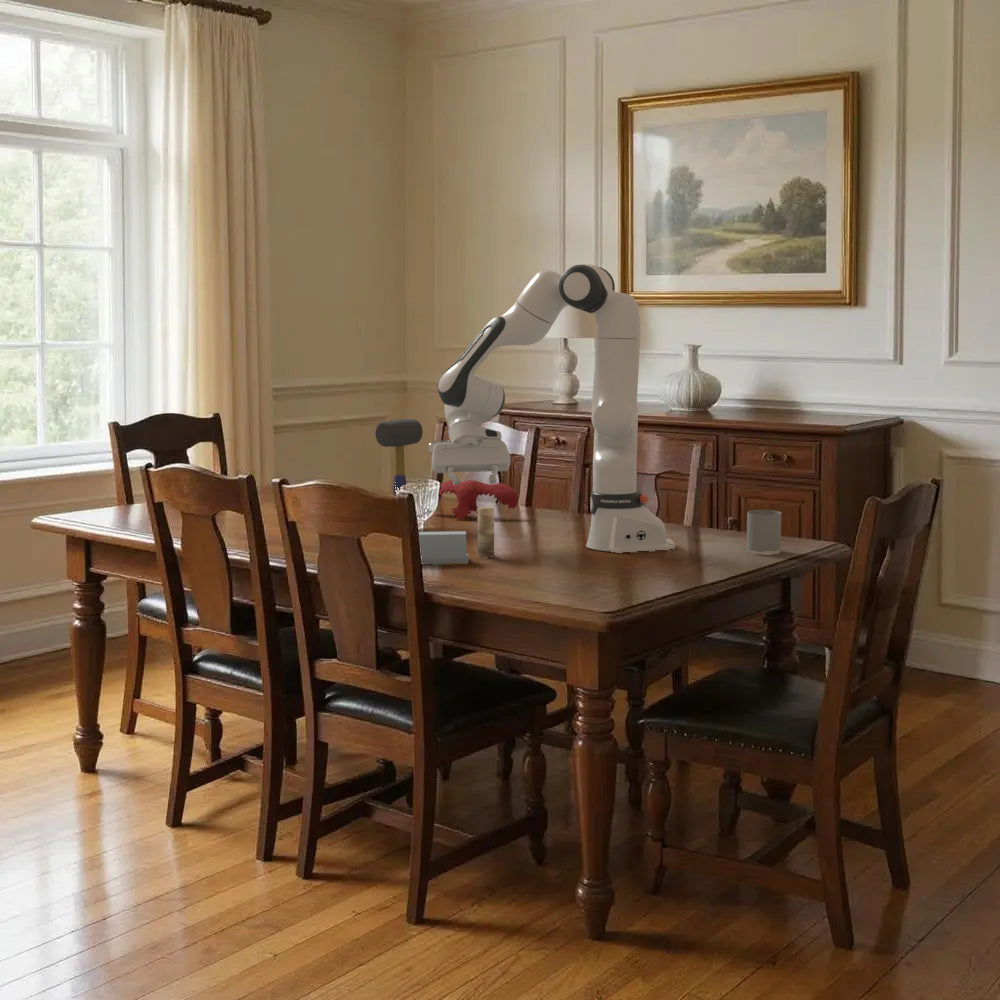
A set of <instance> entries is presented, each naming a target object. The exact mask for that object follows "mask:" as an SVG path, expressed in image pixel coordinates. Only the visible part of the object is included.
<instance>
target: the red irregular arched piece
mask: <svg viewBox="0 0 1000 1000" xmlns="http://www.w3.org/2000/svg"><path fill="white" fill-rule="evenodd" d="M440 484H441V489H440V494H439V496H442V495H443V494H448V493H449V494H455V496H456V500H457V505H456V506H455V507H454V508H451V513H452V514H453V516H455V519H456V520H458V519H461V520H462V519H463V520H467V519H466V517H468V516H469V515H471V514H472V512H476V514H477V515H476V516H478V505H477V498H479V496H483V495H484V496H487V495H488V497H492V496H494V499H497V498H498V502H500V503H502V502H503V504H504V505H508V509H516V506H517V505H518V494H517V493H518V492H517V491H516V490H515V489H514V488H513V487H512V486H510V485H509V484H506V483H503V482H499V483H498V482H497V483H495V484H490V483H485V482H482V481H478V480H471V479H470V480H465V481H461V482H460V483H459V485H453V481H452V480H447V481H443V482H442V483H440Z"/></svg>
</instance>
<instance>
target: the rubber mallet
mask: <svg viewBox="0 0 1000 1000" xmlns="http://www.w3.org/2000/svg"><path fill="white" fill-rule="evenodd" d="M374 433H375V438H376V441H377V443H378V444H379V445H380V446H382V447H385V448H387V447H389V448H391V447H392V448H393V447H394V452H395V453H394V461H395V462H394V463H395V466H394V467H395V468H394V470H395V471H394V478H393V487H392V488H393V495H394V494H396V492H395V490H397V487H398V488H399V490H400V487H401V486H402V485H406V484H407V477H406V474H405V473H406V471H405V469H406V468H405V446H409V445H414V444H417V443H419V442H420V441H421V440H422V438H423V427H422V424H421V423H420V421H418V420H417V419H415V418H399V419H397V418H396V419H392V420H386V421H381V422H379V423H378V425H377V426H376V429H375V432H374ZM395 482H396V483H395ZM395 485H396V486H395ZM395 487H396V489H395Z"/></svg>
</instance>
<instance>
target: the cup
mask: <svg viewBox="0 0 1000 1000" xmlns="http://www.w3.org/2000/svg"><path fill="white" fill-rule="evenodd" d="M746 516H747V517H746V551H747V550H749V551H756V552H757V551H758V552H762V551H763V552H764V551H777V550H779V549H780V550H781V544H782V543H781V541H782V537H781V536H782V511H780V510H779V511H778V510H772V509H771V510H769V509H754V510H753V509H752V510H748V511H747V514H746Z"/></svg>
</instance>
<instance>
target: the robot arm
mask: <svg viewBox="0 0 1000 1000" xmlns="http://www.w3.org/2000/svg"><path fill="white" fill-rule="evenodd" d="M615 289H616V288H615V281H614V277H613V276H612V275H611V273H610V272H609V271H607V270H606V269H605V268H603V267H600V266H598V265H597V266H596V265H594V264H590V263H588V264H587V263H584V264H576V265H572V266H570V267H569V268H568V269H566V270H565V271H564V272H563V273H562V275H561V274H559V273H558V272H556V271H553V270H549V269H548V270H546V269H545V270H541V271H538V272H537V273H536V274H535V275H534V276H533V277H532V278H531V279H530V281H529V282H528V283H527V285H526V286H525V287H524V289H523V290H522V292H520V294H519V296H518V297H517V299H516V301H515V302H514V304H512V306H510V308H509V309H508V310H507V311H506V312H505V313H503V314H502V315H499V316H497V317H493V318H492V319H491V320H489V321H488V323H486V324H485V325H484V327H483V328H482V329H481V330H480V331H479V333H478V334H477V335H476V337H474V339H473V340H472V341H471V342H470V343H469V344H468V346H467V347H466V348H465V350H464V351H463V352H462V353H461V354H460V356H459V357H458V358H457V359H456V360H455V362H453V363H452V364H451V365H450V366H449V367H448V368H447V369H445V371H444V372H443V373H442V374H441V376H440V377H439V379H438V382H437V391H438V396H439V398H440V399H441V402H442V403H443V404H444V415H445V421H446V424H447V426H448V431H447V433H448V438H449V440H447V439H446V440H433V442H431V443H429V444H428V453H429V454H430V455H431V469H432V471H433V472H434V473H435V474H445V473H446V476H447V477H448V478H449V479H451V480H450V481H453V485H459V483H460V481H461V479H460V475H456V474H455V473H474V472H476V473H480V472H483V473H485V472H491V474H489V476H488V481H489V483H488V484H497V475H498V473H499V472H507V471H509V468H510V466H511V462H512V461H511V455H510V452H509V448H508V446H507V444H506V443H505V442H504V441H503V440H502V433H501V431H498V430H494V429H490V428H487V427H484V426H482V424H485V423H488V422H489V421H490V420H492V419H494V418H495V417H496V416H498V415H499V414H500V413H501V412H502V411H503V409H504V407H505V402H506V392H505V390H504V387H503V385H501V383H498V382H497V381H494V380H491V379H489V378H486V377H484V376H481V375H478V374H476V373H475V372H476V371H477V370H478V369H479V368H480V366H481V365H482V364H483V363H484V362H485V360H486V359H487V358H488V356H490V355H491V353H492V352H494V351H495V350H496V349H498V348H501V347H506V346H530V345H533V344H534V345H535V344H537V343H539V342H540V341H542V340H543V339H544V338H545V337H546V335H548V333H549V331H550V330H551V328H552V326H553V325H554V324H555V322H556V320H557V318H558V317H559V315H560V314H561V312H562V311H563V310H564V309H565V308H566V307H567V306H570V307H571V308H574V309H577V310H579V311H583V312H586V313H589V314H593V315H594V318H595V346H594V349H595V350H594V352H595V353H594V371H593V372H594V373H593V383H592V384H593V386H592V387H593V388H592V399H591V400H592V401H591V417H590V418H591V419H590V420H591V424H592V427H593V430H594V433H593V451H592V452H593V455H592V491H591V492H590V500H589V501H590V512H591V518H590V519H591V520H590V528H589V532H588V533H589V534H588V537H587V542H586V545H585V546H586V548H588V549H592V550H595V551H602V552H603V551H604V552H609V551H610V552H611V553H614V552H615V554H624V553H623V552H630V553H638V552H637V551H649V552H656V551H655V550H667V551H669V550H668V549H673V548H675V549H676V543H675V542H674V541H673V540H672V539H670V538H668V537H667V530H666V526H665V524H664V522H663V521H662V519H660V518H659V517H658V516H656V514H654V513H653V512H652V511H650V510H649V509H648V508H647V507H646V506H644V505H645V504H647V503H648V502H649V497H648V496H647V495H646V494H642V493H640V492H639V491H637V478H638V477H637V473H638V472H637V465H638V464H637V462H638V461H637V460H638V458H637V457H638V432H639V431H638V428H639V427H638V423H639V421H638V420H639V412H638V411H639V410H638V406H637V404H638V384H639V372H640V351H641V348H640V347H641V346H640V345H641V343H640V342H641V339H640V338H641V322H640V321H641V320H640V312H639V311H640V309H639V305H638V302H637V300H636V298H635V297H633V296H632V295H630V294H628V293H624V292H616V290H615ZM673 550H674V549H673Z"/></svg>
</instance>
